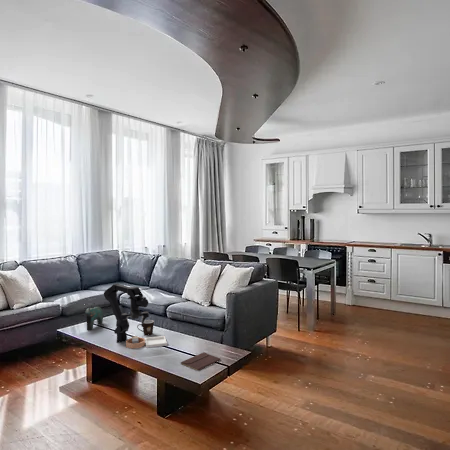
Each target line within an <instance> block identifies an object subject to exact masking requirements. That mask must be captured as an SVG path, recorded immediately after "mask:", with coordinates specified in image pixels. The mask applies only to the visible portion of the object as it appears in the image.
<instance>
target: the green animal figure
mask: <svg viewBox="0 0 450 450" xmlns="http://www.w3.org/2000/svg"><path fill="white" fill-rule="evenodd" d="M93 305H95V303H94V302H93V303H91V307H88V308H86V310H85V313H84V314H85V316H86V331H93V329H94V324H95V320H96V322H97V325H99V324H100V325H102V324H103V322H104V312H103V309H102V307H101V305H99V304H98V305H95V306H93Z"/></svg>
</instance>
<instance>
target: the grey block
mask: <svg viewBox="0 0 450 450" xmlns="http://www.w3.org/2000/svg"><path fill="white" fill-rule="evenodd" d="M134 343H139V341H138V338H136V339H132V344H134Z"/></svg>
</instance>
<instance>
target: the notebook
mask: <svg viewBox="0 0 450 450" xmlns="http://www.w3.org/2000/svg"><path fill="white" fill-rule="evenodd" d="M219 360H220V361H221V358H219V357H217V356H214V355H212V354H209V353H207V352H204V351H203V352H201V353H199V354H196V355H194V356H192V357H190V358H187V359H185V360H183V361H181V362H180V365H182V366H184V367H187V368H190V369H193V370H194V371H197V372H199V371H202V370H204V369H205V367H206V368H207V366H208V367H210V366H212V365H214V364H216V363H218V362H220V361H219ZM217 361H218V362H217ZM215 362H216V363H215ZM213 363H214V364H213ZM211 364H212V365H211ZM209 365H210V366H209Z"/></svg>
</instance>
